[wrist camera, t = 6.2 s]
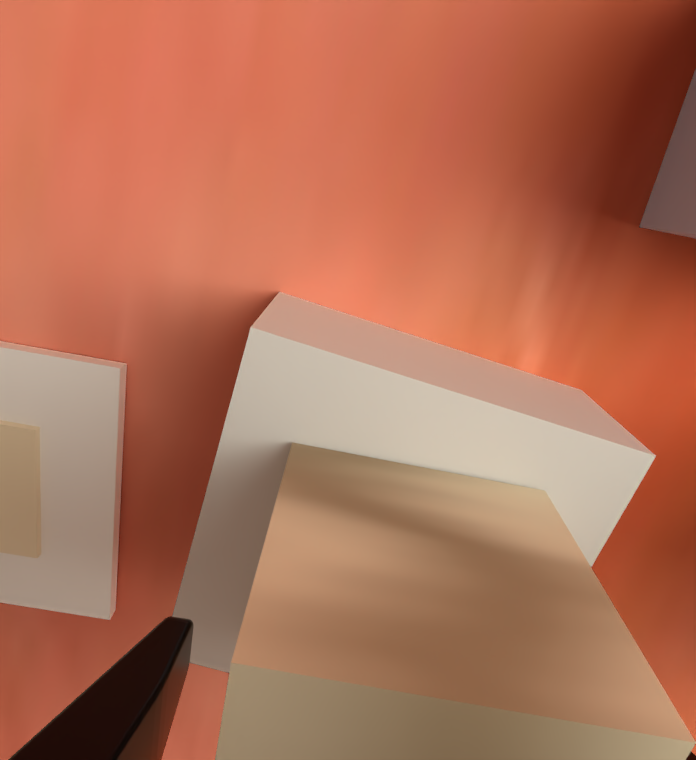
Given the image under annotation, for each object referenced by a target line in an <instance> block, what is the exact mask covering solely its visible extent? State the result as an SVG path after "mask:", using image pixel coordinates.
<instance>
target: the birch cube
mask: <svg viewBox="0 0 696 760" xmlns="http://www.w3.org/2000/svg"><path fill="white" fill-rule="evenodd" d="M695 744H696V742H695V740H694V739H693V737H692V735H691V733H690V732H689V730H688V728H687V727H686V725H685V723H684V722H683V720H682V718H681V717H680V715H679V713H678V712H677V710H676V708H675V707H674V705H673V703H672V702H671V700H670V698H669V697H668V695H667V693H666V692H665V690H664V688H663V687H662V685H661V683H660V682H659V680H658V678H657V677H656V675H655V673H654V672H653V670H652V668H651V667H650V665H649V663H648V662H647V660H646V658H645V657H644V655H643V653H642V652H641V650H640V648H639V647H638V645H637V643H636V642H635V640H634V638H633V637H632V635H631V633H630V632H629V630H628V628H627V627H626V625H625V623H624V622H623V620H622V618H621V617H620V615H619V613H618V612H617V610H616V608H615V607H614V605H613V603H612V602H611V600H610V598H609V596H608V595H607V593H606V591H605V590H604V588H603V586H602V585H601V583H600V581H599V580H598V578H597V576H596V575H595V573H594V571H593V570H592V568H591V566H590V565H589V563H588V561H587V560H586V558H585V556H584V555H583V553H582V551H581V550H580V548H579V546H578V545H577V543H576V541H575V540H574V538H573V536H572V535H571V533H570V531H569V530H568V528H567V526H566V525H565V523H564V521H563V520H562V518H561V516H560V515H559V513H558V511H557V510H556V508H555V506H554V505H553V503H552V501H551V500H550V498H549V496H548V495H547V493H546V491H544V490H539V489H534V488H528V487H523V486H518V485H513V484H507V483H502V482H497V481H492V480H487V479H481V478H476V477H471V476H466V475H460V474H455V473H450V472H445V471H439V470H434V469H429V468H424V467H418V466H413V465H408V464H403V463H397V462H392V461H387V460H382V459H377V458H371V457H366V456H361V455H356V454H350V453H345V452H340V451H335V450H329V449H324V448H319V447H314V446H308V445H303V444H298V443H293V442H292V445H291V448H290V452H289V456H288V459H287V463H286V466H285V470H284V474H283V477H282V481H281V484H280V488H279V492H278V495H277V499H276V502H275V506H274V510H273V513H272V517H271V520H270V524H269V528H268V531H267V535H266V538H265V542H264V546H263V549H262V553H261V556H260V560H259V564H258V567H257V571H256V574H255V578H254V582H253V585H252V589H251V592H250V596H249V600H248V603H247V607H246V610H245V614H244V618H243V621H242V625H241V628H240V632H239V636H238V639H237V643H236V646H235V650H234V654H233V657H232V661H231V666H230V672H229V678H228V684H227V690H226V696H225V702H224V709H223V715H222V721H221V727H220V733H219V739H218V745H217V751H216V757H215V760H686V758H687V757H688V755H689V754H690V752H691V750H692V749H693V747H694V745H695Z"/></svg>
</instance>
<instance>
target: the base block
mask: <svg viewBox="0 0 696 760" xmlns="http://www.w3.org/2000/svg"><path fill="white" fill-rule="evenodd" d="M292 442H293V443H298V444H303V445H308V446H314V447H319V448H324V449H329V450H335V451H340V452H345V453H350V454H356V455H361V456H366V457H371V458H377V459H382V460H387V461H392V462H397V463H403V464H408V465H413V466H418V467H424V468H429V469H434V470H439V471H445V472H450V473H455V474H460V475H466V476H471V477H476V478H481V479H487V480H492V481H497V482H502V483H507V484H513V485H518V486H523V487H528V488H534V489H539V490H544V491H546V493H547V495H548V496H549V498H550V500H551V501H552V503H553V505H554V506H555V508H556V510H557V511H558V513H559V515H560V516H561V518H562V520H563V521H564V523H565V525H566V526H567V528H568V530H569V531H570V533H571V535H572V536H573V538H574V540H575V541H576V543H577V545H578V546H579V548H580V550H581V551H582V553H583V555H584V556H585V558H586V560H587V561H588V563H589V565H590V566H591V567H592V565H593V563H594V562H595V560H596V558H597V556H598V555H599V553H600V551H601V550H602V548H603V546H604V544H605V543H606V541H607V539H608V538H609V536H610V534H611V532H612V531H613V529H614V527H615V526H616V524H617V522H618V520H619V519H620V517H621V515H622V514H623V512H624V510H625V508H626V507H627V505H628V503H629V502H630V500H631V498H632V496H633V495H634V493H635V491H636V490H637V488H638V486H639V484H640V483H641V481H642V479H643V478H644V476H645V474H646V472H647V471H648V469H649V467H650V466H651V464H652V462H653V460H654V459H655V457H656V455H654V454H653V453H652V452H651V451H650V450H649V449H648V448H646V447H645V446H644V445H643V444H642V443H641V442H640V441H639V440H637V439H636V438H635V437H634V436H633V435H632V434H631V433H630V432H628V431H627V430H626V429H625V428H624V427H623V426H622V425H620V424H619V423H618V422H617V421H616V420H615V419H614V418H613V417H611V416H610V415H609V414H608V413H607V412H606V411H605V410H603V409H602V408H601V407H600V406H599V405H598V404H597V403H596V402H594V401H593V400H592V399H591V398H590V397H589V396H588V395H587V394H585V393H584V392H583V391H582V390H580V389H577V388H574V387H571V386H568V385H565V384H562V383H559V382H556V381H552V380H549V379H546V378H543V377H540V376H537V375H534V374H531V373H528V372H525V371H522V370H519V369H516V368H513V367H509V366H506V365H503V364H500V363H497V362H494V361H491V360H488V359H485V358H482V357H479V356H476V355H473V354H470V353H466V352H463V351H460V350H457V349H454V348H451V347H448V346H445V345H442V344H439V343H436V342H433V341H430V340H427V339H424V338H420V337H417V336H414V335H411V334H408V333H405V332H402V331H399V330H396V329H393V328H390V327H387V326H384V325H381V324H377V323H374V322H371V321H368V320H365V319H362V318H359V317H356V316H353V315H350V314H347V313H344V312H341V311H338V310H334V309H331V308H328V307H325V306H322V305H319V304H316V303H313V302H310V301H307V300H304V299H301V298H298V297H295V296H292V295H288V294H285V293H282V292H279V293H278V294H277V295H276V296H275V298H274V299H273V300H272V301H271V303H270V304H269V305H268V306H267V307H266V309H265V310H264V311H263V312H262V314H261V315H260V316H259V317H258V319H257V320H256V321H255V322H254V324H253V325H252V326H251V328H250V331H249V335H248V339H247V342H246V346H245V350H244V354H243V357H242V361H241V365H240V368H239V372H238V376H237V379H236V383H235V387H234V390H233V394H232V398H231V401H230V405H229V409H228V412H227V416H226V420H225V424H224V427H223V431H222V435H221V438H220V442H219V446H218V449H217V453H216V457H215V460H214V464H213V468H212V471H211V475H210V479H209V482H208V486H207V490H206V493H205V497H204V501H203V505H202V508H201V512H200V516H199V519H198V523H197V527H196V530H195V534H194V538H193V541H192V545H191V549H190V552H189V556H188V560H187V563H186V567H185V571H184V575H183V578H182V582H181V586H180V589H179V593H178V597H177V600H176V604H175V608H174V611H173V615H172V617H179V618H185V619H190V620H192V622H193V625H194V627H193V636H192V646H191V655H190V662H189V663H193V664H197V665H201V666H204V667H208V668H212V669H216V670H220V671H224V672H228V673H229V672H230V666H231V661H232V657H233V654H234V650H235V646H236V643H237V639H238V636H239V632H240V628H241V625H242V621H243V618H244V614H245V610H246V607H247V603H248V600H249V596H250V592H251V589H252V585H253V582H254V578H255V574H256V571H257V567H258V564H259V560H260V556H261V553H262V549H263V546H264V542H265V538H266V535H267V531H268V528H269V524H270V520H271V517H272V513H273V510H274V506H275V502H276V499H277V495H278V492H279V488H280V484H281V481H282V477H283V474H284V470H285V466H286V463H287V459H288V456H289V452H290V448H291V445H292Z"/></svg>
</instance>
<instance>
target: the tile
mask: <svg viewBox="0 0 696 760" xmlns="http://www.w3.org/2000/svg"><path fill="white" fill-rule="evenodd" d="M126 373H127V363H122V362H116V361H111V360H105V359H99V358H94V357H88V356H83V355H77V354H71V353H66V352H60V351H54V350H49V349H43V348H38V347H32V346H26V345H21V344H15V343H10V342H4V341H0V603H6V604H12V605H19V606H25V607H31V608H38V609H44V610H50V611H56V612H63V613H69V614H75V615H82V616H88V617H94V618H101V619H107V620H110V619H111V617H112V615H113V614H114V612H115V610H116V591H117V570H118V548H119V526H120V504H121V482H122V461H123V439H124V417H125V395H126Z"/></svg>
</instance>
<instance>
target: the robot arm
mask: <svg viewBox="0 0 696 760" xmlns="http://www.w3.org/2000/svg"><path fill="white" fill-rule="evenodd" d="M193 627H194V625H193V622H192V620H190V619H185V618H179V617H172V616H170V617H167V618H165V619H164V620H163V621H162V622H161V623H160V624H159V625H158V626H156V627H155V628H154V629H153V630H152V631H151V632H150V633H149V634H148V635H146V636H145V637H144V638H143V639H142V640H141V641H140V642H139V643H138V644H136V645H135V646H134V647H133V648H132V649H131V650H130V651H129V652H128V653H126V654H125V655H124V656H123V657H122V658H121V659H120V660H119V661H117V662H116V663H115V664H114V665H113V666H112V667H111V668H110V669H109V670H107V671H106V672H105V673H104V674H103V675H102V676H101V677H100V678H99V679H97V680H96V681H95V682H94V683H93V684H92V685H91V686H90V687H89V688H87V689H86V690H85V691H84V692H83V693H82V694H81V695H80V696H79V697H77V698H76V699H75V700H74V701H73V702H72V703H71V704H70V705H69V706H67V707H66V708H65V709H64V710H63V711H62V712H61V713H60V714H59V715H57V716H56V717H55V718H54V719H53V720H52V721H51V722H50V723H49V724H47V725H46V726H45V727H44V728H43V729H42V730H41V731H40V732H39V733H37V734H36V735H35V736H34V737H33V738H32V739H31V740H30V741H29V742H27V743H26V744H25V745H24V746H23V747H22V748H21V749H20V750H19V751H17V752H16V753H15V754H14V755H13V756H12V757H11V758H10V759H9V760H161V759H162V755H163V752H164V749H165V745H166V742H167V738H168V735H169V732H170V728H171V725H172V722H173V718H174V715H175V712H176V708H177V705H178V702H179V698H180V695H181V691H182V688H183V685H184V681H185V678H186V675H187V671H188V667H189V662H190V655H191V646H192V636H193ZM686 760H696V756H695V755H694V754H693V753H692V752H690V754H689V755H688V757H687V758H686Z"/></svg>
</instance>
